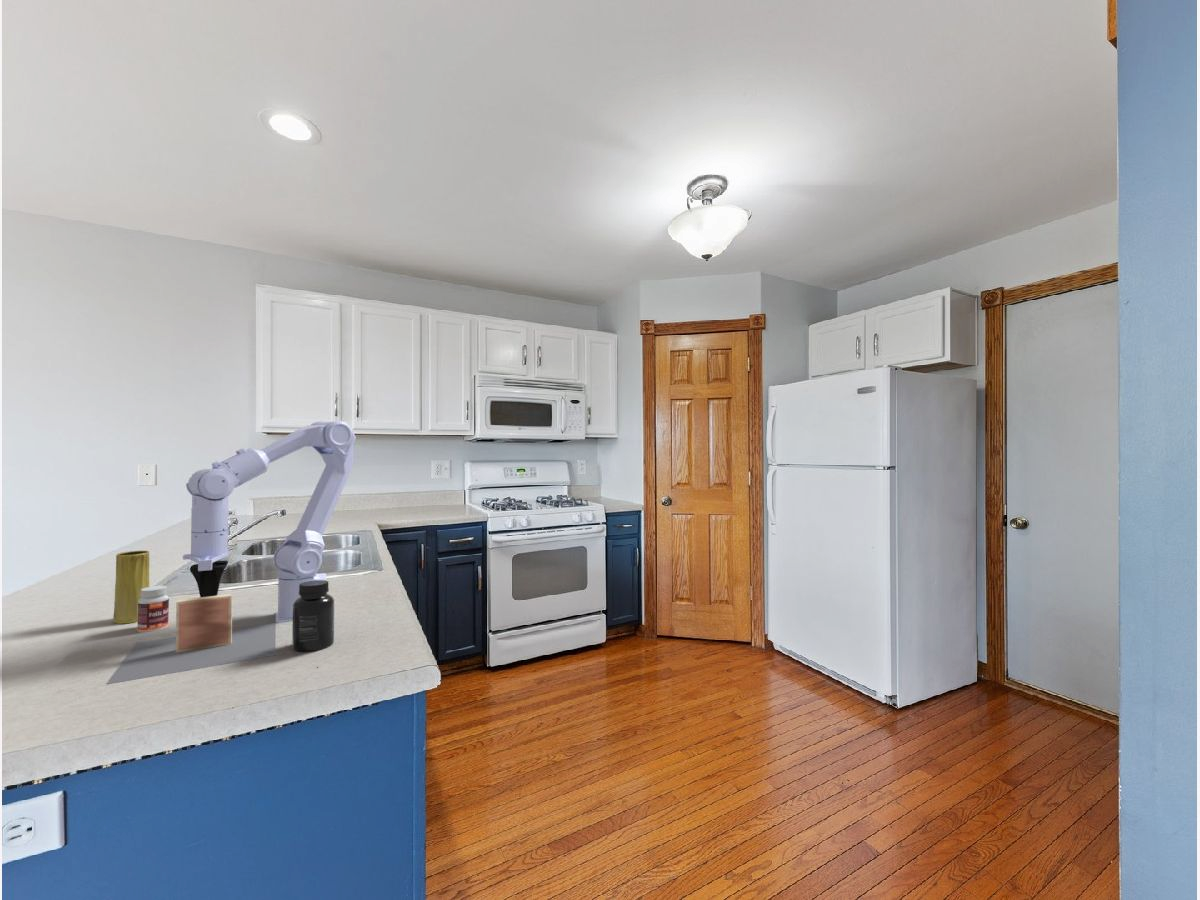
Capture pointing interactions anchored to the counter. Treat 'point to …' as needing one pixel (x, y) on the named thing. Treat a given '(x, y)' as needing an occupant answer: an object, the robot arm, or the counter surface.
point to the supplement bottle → (313, 617)
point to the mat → (195, 654)
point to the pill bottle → (153, 609)
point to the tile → (203, 622)
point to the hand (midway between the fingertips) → (209, 600)
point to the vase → (130, 584)
